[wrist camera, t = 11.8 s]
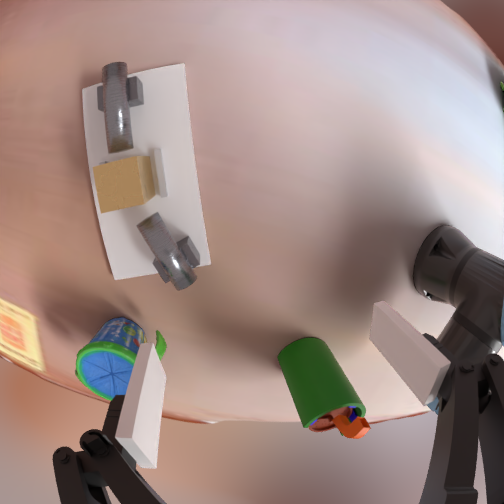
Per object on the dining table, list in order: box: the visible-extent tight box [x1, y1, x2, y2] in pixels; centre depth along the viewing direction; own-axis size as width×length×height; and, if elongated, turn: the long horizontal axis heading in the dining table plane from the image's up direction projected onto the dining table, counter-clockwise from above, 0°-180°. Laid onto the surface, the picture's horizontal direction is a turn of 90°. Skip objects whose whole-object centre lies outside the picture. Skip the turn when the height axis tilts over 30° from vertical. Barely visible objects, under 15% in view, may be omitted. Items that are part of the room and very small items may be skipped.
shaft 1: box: [97, 62, 144, 154], centre depth 26 cm, size 10×5×6 cm, turn 6°
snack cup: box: [75, 317, 166, 400], centre depth 34 cm, size 16×10×10 cm
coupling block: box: [93, 156, 156, 214], centre depth 28 cm, size 5×5×7 cm
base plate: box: [82, 63, 211, 280], centre depth 31 cm, size 14×27×2 cm, turn 6°
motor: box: [277, 338, 371, 439], centre depth 37 cm, size 10×9×20 cm
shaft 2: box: [136, 212, 200, 290], centre depth 32 cm, size 9×5×6 cm, turn 26°
